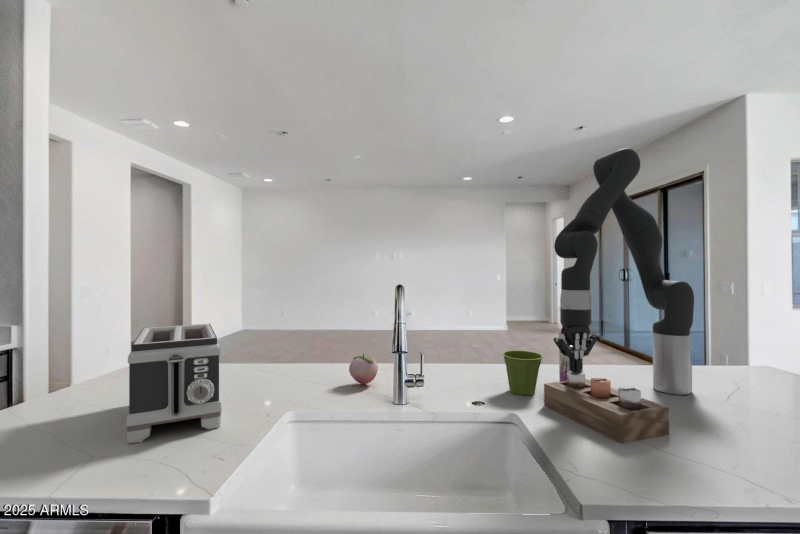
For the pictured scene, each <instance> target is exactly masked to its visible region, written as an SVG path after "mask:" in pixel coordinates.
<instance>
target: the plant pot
mask: <svg viewBox="0 0 800 534" xmlns="http://www.w3.org/2000/svg"><path fill="white" fill-rule="evenodd" d="M501 355H502V356H503V359H504V364H505V367H506V372H507V373H506V374H507V381H508V386H509V387H508V388H509V391H510V392H511V393H513V394H516V395H518V394H521V395H520V396H524V395H527V396H532V395H534V394H535V393H536V387H537V381H538V377H539V370H540V367H541V364H542V359H544V355H543V354H542V353H539V352H537V351H535V352H534V351H530V350H519V349H517V350H505V351H503V352H502V353H501ZM531 394H532V395H531Z"/></svg>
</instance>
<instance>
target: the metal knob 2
mask: <svg viewBox="0 0 800 534" xmlns="http://www.w3.org/2000/svg"><path fill="white" fill-rule="evenodd" d="M617 390H618V405H619V406H621V407H623V408H627V409H640V408H641V398H642V391H641V390H640V389H638V388H636V387H629V386H620V387H618V388H617Z"/></svg>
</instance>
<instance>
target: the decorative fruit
mask: <svg viewBox="0 0 800 534" xmlns="http://www.w3.org/2000/svg"><path fill="white" fill-rule="evenodd" d="M378 370H379V365H378V363H377V362H376V360H375V359H373V358H372V357H370V356H365V353H362V355H357V356H356V355H355V356H353V360H352V361H351V362H350V364H349V365H348V372H349V373H350V374H349V375H350V376H351V377H352V378H353V380H354V381H356V382H357V383H358V384H360V385H362V386H365V385H367V384H368V385H369V383H371V382H373V381H374V380H375V378H376V377H377V374H378Z"/></svg>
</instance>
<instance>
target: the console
mask: <svg viewBox="0 0 800 534" xmlns="http://www.w3.org/2000/svg"><path fill="white" fill-rule="evenodd" d="M543 398H544V399H543V405H544V407H545V406H546V408H547V407H548V409H549V410H552V411H553V412H556V413H558V414H560V415H561V416H564V417H566V418H568V419H570V420H573V422H574V421H575V422H577V423H578V424H580V425H583V426H585V428H586V427H587V428H588V429H590V430H593V431H595V432H597V433H599V434H601V435H603V436H605V437H607V438H609V439H611V440H612V441H615V442H618V443H619V444H627V443H631V442H637V441H642V440H646V439H647V440H648V439H652V438H656V437H663V436H667V435H670V407H669V406H667V405H664V404H660V403H657V402H654V401H652V400H649V399H646V398H643V397H641V408H640V409H627V408H623V407H621V406H619V405H618V388H614V387H611V397H610V398H599V397H595V396H592V395H591V379H588V378H585V388H584V389H573V388H570V387H568V386H567V381H561V382H560V381H556V382H555V381H552V382H545V383H543Z"/></svg>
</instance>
